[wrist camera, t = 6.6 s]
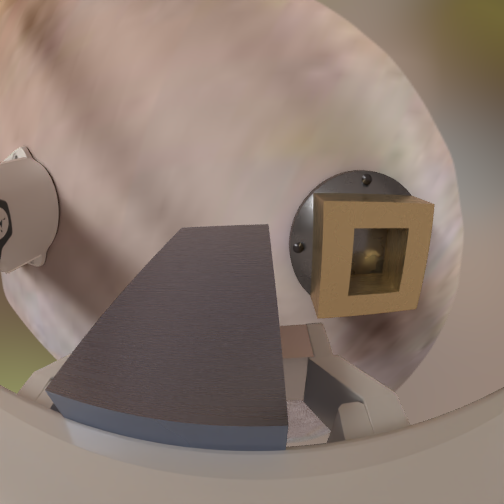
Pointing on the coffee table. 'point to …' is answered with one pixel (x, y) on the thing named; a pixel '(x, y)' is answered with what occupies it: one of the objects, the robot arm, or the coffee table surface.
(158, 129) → the coffee table surface
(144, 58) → the coffee table surface
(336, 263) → the rosette plate
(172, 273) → the grey rectangular block
